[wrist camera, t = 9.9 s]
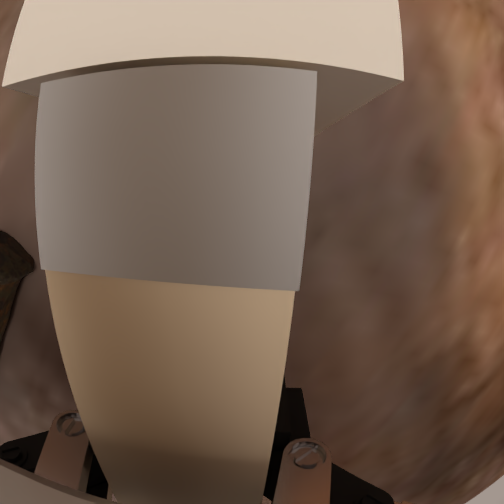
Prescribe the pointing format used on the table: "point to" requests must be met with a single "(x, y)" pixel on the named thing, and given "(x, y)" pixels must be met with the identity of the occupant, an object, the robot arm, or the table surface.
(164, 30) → the white and teal block
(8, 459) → the robot arm
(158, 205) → the grey-capped beige stick
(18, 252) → the hand tool
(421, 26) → the table surface
